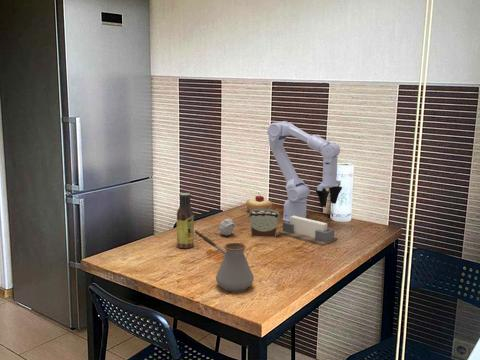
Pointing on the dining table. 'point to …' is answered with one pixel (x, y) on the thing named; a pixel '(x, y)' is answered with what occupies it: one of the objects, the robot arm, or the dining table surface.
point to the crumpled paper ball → (226, 227)
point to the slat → (307, 226)
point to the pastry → (258, 203)
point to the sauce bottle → (185, 222)
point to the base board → (306, 238)
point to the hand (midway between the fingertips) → (328, 204)
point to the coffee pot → (232, 267)
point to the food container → (264, 222)
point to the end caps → (318, 234)
